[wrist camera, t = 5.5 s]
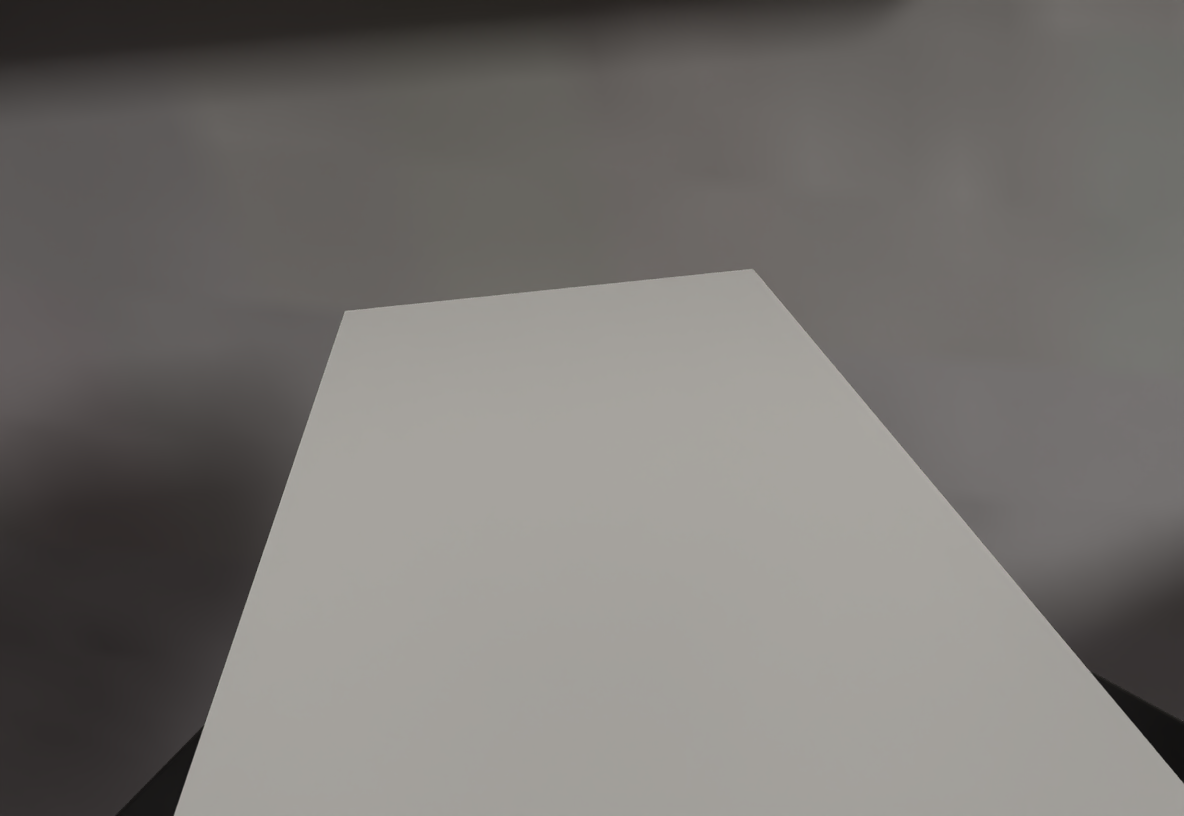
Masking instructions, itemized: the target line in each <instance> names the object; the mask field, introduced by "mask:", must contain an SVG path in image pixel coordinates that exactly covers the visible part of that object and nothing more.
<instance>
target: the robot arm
mask: <svg viewBox="0 0 1184 816" xmlns="http://www.w3.org/2000/svg"><path fill="white" fill-rule="evenodd" d="M1090 672H1091V671H1090ZM1091 673H1092V675H1093V676H1094V677H1095V678H1096V679H1097V681H1098V682H1099V683H1100V684H1101V685H1102V687H1103V688H1104V689H1105V690H1106V691H1107V693H1108V694H1109V695H1110V696H1111V697H1112V699H1113V700H1114V701H1115V702H1116V703H1117V705H1118V706H1119V707H1120V708H1121V709H1122V711H1123V712H1124V713H1125V714H1126V715H1127V716H1128V718H1129V719H1130V720H1131V721H1132V722H1133V724H1134V725H1135V726H1136V727H1137V728H1138V730H1139V731H1140V732H1141V733H1142V734H1143V736H1144V737H1145V738H1146V739H1147V740H1148V742H1149V743H1150V744H1151V745H1152V746H1153V748H1154V749H1155V750H1156V751H1157V752H1158V754H1159V755H1160V756H1161V757H1162V758H1163V760H1164V761H1165V762H1166V763H1167V764H1168V765H1169V767H1170V768H1171V769H1172V770H1173V771H1174V773H1175V774H1176V775H1177V776H1178V777H1179V779H1180V780H1181V781H1182V782H1183V783H1184V722H1183V721H1181V720H1179V719H1178V718H1176V717H1174V716H1172V715H1170V714H1168V713H1167V712H1165V711H1163V710H1161V709H1159V708H1157V707H1156V706H1154V705H1152V704H1150V703H1148V702H1146V701H1145V700H1143V699H1141V698H1139V697H1137V696H1135V695H1133V694H1132V693H1130V692H1128V691H1126V690H1124V689H1122V688H1121V687H1119V686H1117V685H1115V684H1113V683H1111V682H1110V681H1108V680H1106V679H1104V678H1102V677H1100V676H1099V675H1097V674H1095V673H1093V672H1091ZM203 728H204V726H203V727H202V728H201V729H200V730H199V731H198V732H197V733H196V734H195V735H194V736H193V737H192V738H191V739H190V740H189V741H188V742H187V743H186V744H185V745H184V746H183V747H182V748H181V749H180V750H179V751H178V752H177V753H176V754H175V755H174V756H173V757H172V758H171V759H170V760H169V761H168V762H167V764H166V765H165V766H164V767H163V768H162V769H161V770H160V771H159V772H158V773H157V774H156V775H155V776H154V777H153V778H152V779H151V780H150V781H149V782H148V783H147V784H146V785H145V786H144V787H143V788H142V789H141V790H140V791H139V792H138V793H137V794H136V795H135V796H134V797H133V798H132V799H131V800H130V801H129V802H128V803H127V804H126V805H125V806H124V807H123V808H122V809H121V810H120V811H119V812H118V813H117V815H116V816H174V814H175V811H176V808H177V805H178V802H179V799H180V796H181V793H182V790H183V787H184V784H185V781H186V778H187V775H188V772H189V769H190V767H191V764H192V761H193V758H194V755H195V752H196V749H197V746H198V743H199V740H200V737H201V734H202V731H203Z"/></svg>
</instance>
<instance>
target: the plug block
mask: <svg viewBox="0 0 1184 816" xmlns="http://www.w3.org/2000/svg"><path fill="white" fill-rule="evenodd" d="M174 816H1184V783H1183V782H1182V781H1181V780H1180V779H1179V777H1178V776H1177V775H1176V774H1175V773H1174V771H1173V770H1172V769H1171V768H1170V767H1169V765H1168V764H1167V763H1166V762H1165V761H1164V760H1163V758H1162V757H1161V756H1160V755H1159V754H1158V752H1157V751H1156V750H1155V749H1154V748H1153V746H1152V745H1151V744H1150V743H1149V742H1148V740H1147V739H1146V738H1145V737H1144V736H1143V734H1142V733H1141V732H1140V731H1139V730H1138V728H1137V727H1136V726H1135V725H1134V724H1133V722H1132V721H1131V720H1130V719H1129V718H1128V716H1127V715H1126V714H1125V713H1124V712H1123V711H1122V709H1121V708H1120V707H1119V706H1118V705H1117V703H1116V702H1115V701H1114V700H1113V699H1112V697H1111V696H1110V695H1109V694H1108V693H1107V691H1106V690H1105V689H1104V688H1103V687H1102V685H1101V684H1100V683H1099V682H1098V681H1097V679H1096V678H1095V677H1094V676H1093V675H1092V673H1091V672H1090V671H1089V670H1088V669H1087V667H1086V666H1085V665H1084V664H1083V663H1082V662H1081V660H1080V659H1079V658H1078V657H1077V656H1076V654H1075V653H1074V652H1073V651H1072V650H1071V648H1070V647H1069V646H1068V645H1067V644H1066V642H1065V641H1064V640H1063V639H1062V638H1061V636H1060V635H1059V634H1058V633H1057V632H1056V630H1055V629H1054V628H1053V627H1052V626H1051V624H1050V623H1049V622H1048V621H1047V620H1046V618H1045V617H1044V616H1043V615H1042V614H1041V613H1040V611H1039V610H1038V609H1037V608H1036V607H1035V605H1034V604H1033V603H1032V602H1031V601H1030V599H1029V598H1028V597H1027V596H1026V595H1025V593H1024V592H1023V591H1022V590H1021V589H1020V587H1019V586H1018V585H1017V584H1016V583H1015V581H1014V580H1013V579H1012V578H1011V577H1010V575H1009V574H1008V573H1007V572H1006V571H1005V569H1004V568H1003V567H1002V566H1001V565H1000V564H999V562H998V561H997V560H996V559H995V558H994V556H993V555H992V554H991V553H990V552H989V550H988V549H987V548H986V547H985V546H984V544H983V543H982V542H981V541H980V540H979V538H978V537H977V536H976V535H975V534H974V532H973V531H972V530H971V529H970V528H969V526H968V525H967V524H966V523H965V522H964V520H963V519H962V518H961V517H960V516H959V515H958V513H957V512H956V511H955V510H954V509H953V507H952V506H951V505H950V504H949V503H948V501H947V500H946V499H945V498H944V497H943V495H942V494H941V493H940V492H939V491H938V489H937V488H936V487H935V486H934V485H933V483H932V482H931V481H930V480H929V479H928V477H927V476H926V475H925V474H924V473H923V471H922V470H921V469H920V468H919V467H918V465H917V464H916V463H915V462H914V461H913V460H912V458H911V457H910V456H909V455H908V454H907V452H906V451H905V450H904V449H903V448H902V446H901V445H900V444H899V443H898V442H897V440H896V439H895V438H894V437H893V436H892V434H891V433H890V432H889V431H888V430H887V428H886V427H885V426H884V425H883V424H882V422H881V421H880V420H879V419H878V418H877V416H876V415H875V414H874V413H873V412H872V411H871V409H870V408H869V407H868V406H867V405H866V403H865V402H864V401H863V400H862V399H861V397H860V396H859V395H858V394H857V393H856V391H855V390H854V389H853V388H852V387H851V385H850V384H849V383H848V382H847V381H846V379H845V378H844V377H843V376H842V375H841V373H840V372H839V371H838V370H837V369H836V367H835V366H834V365H833V364H832V363H831V362H830V360H829V359H828V358H827V357H826V356H825V354H824V353H823V352H822V351H821V350H820V348H819V347H818V346H817V345H816V344H815V342H814V341H813V340H812V339H811V338H810V336H809V335H808V334H807V333H806V332H805V330H804V329H803V328H802V327H801V326H800V324H799V323H798V322H797V321H796V320H795V318H794V317H793V316H792V315H791V314H790V313H789V311H788V310H787V309H786V308H785V307H784V305H783V304H782V303H781V302H780V301H779V299H778V298H777V297H776V296H775V295H774V293H773V292H772V291H771V290H770V289H769V287H768V286H767V285H766V284H765V283H764V281H763V280H762V279H761V278H760V277H759V275H758V274H757V273H756V272H755V271H754V269H748V270H738V271H728V272H718V273H709V274H699V275H689V276H680V277H670V278H660V279H651V280H641V281H631V282H622V283H612V284H602V285H593V286H583V287H573V288H564V289H554V290H544V291H535V292H525V293H515V294H505V295H496V296H486V297H476V298H467V299H457V300H447V301H438V302H428V303H418V304H409V305H399V306H389V307H380V308H370V309H360V310H351V311H345V313H344V316H343V319H342V322H341V325H340V327H339V330H338V333H337V336H336V339H335V342H334V345H333V348H332V351H331V354H330V357H329V360H328V363H327V366H326V369H325V372H324V375H323V378H322V380H321V383H320V386H319V389H318V392H317V395H316V398H315V401H314V404H313V407H312V410H311V413H310V416H309V419H308V422H307V425H306V428H305V431H304V434H303V436H302V439H301V442H300V445H299V448H298V451H297V454H296V457H295V460H294V463H293V466H292V469H291V472H290V475H289V478H288V481H287V484H286V487H285V490H284V492H283V495H282V498H281V501H280V504H279V507H278V510H277V513H276V516H275V519H274V522H273V525H272V528H271V531H270V534H269V537H268V540H267V543H266V546H265V548H264V551H263V554H262V557H261V560H260V563H259V566H258V569H257V572H256V575H255V578H254V581H253V584H252V587H251V590H250V593H249V596H248V599H247V602H246V604H245V607H244V610H243V613H242V616H241V619H240V622H239V625H238V628H237V631H236V634H235V637H234V640H233V643H232V646H231V649H230V652H229V655H228V657H227V660H226V663H225V666H224V669H223V672H222V675H221V678H220V681H219V684H218V687H217V690H216V693H215V696H214V699H213V702H212V705H211V708H210V711H209V713H208V716H207V719H206V722H205V725H204V728H203V731H202V734H201V737H200V740H199V743H198V746H197V749H196V752H195V755H194V758H193V761H192V764H191V767H190V769H189V772H188V775H187V778H186V781H185V784H184V787H183V790H182V793H181V796H180V799H179V802H178V805H177V808H176V811H175V814H174Z"/></svg>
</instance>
